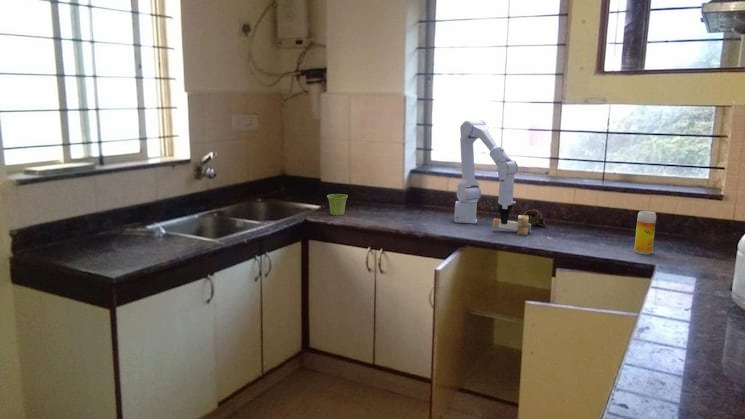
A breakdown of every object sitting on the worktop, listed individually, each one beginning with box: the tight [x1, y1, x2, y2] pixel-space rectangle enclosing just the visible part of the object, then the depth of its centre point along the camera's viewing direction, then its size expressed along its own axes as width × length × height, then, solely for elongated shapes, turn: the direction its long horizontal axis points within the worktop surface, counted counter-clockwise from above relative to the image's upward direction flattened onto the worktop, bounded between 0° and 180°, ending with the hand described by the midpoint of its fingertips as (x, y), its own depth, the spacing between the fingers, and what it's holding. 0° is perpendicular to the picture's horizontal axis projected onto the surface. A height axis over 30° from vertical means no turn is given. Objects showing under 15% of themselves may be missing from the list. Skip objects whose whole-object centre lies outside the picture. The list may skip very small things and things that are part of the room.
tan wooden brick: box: [516, 214, 529, 236], centre depth 246 cm, size 4×7×6 cm, turn 166°
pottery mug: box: [522, 209, 546, 228], centre depth 259 cm, size 12×10×8 cm
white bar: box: [492, 218, 532, 233], centre depth 247 cm, size 15×3×3 cm, turn 77°
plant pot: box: [326, 193, 349, 216], centre depth 276 cm, size 9×9×9 cm
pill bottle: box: [633, 210, 657, 255], centre depth 217 cm, size 6×6×15 cm
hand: (504, 223), depth 248 cm, fingers closed on white bar, 3 cm apart
